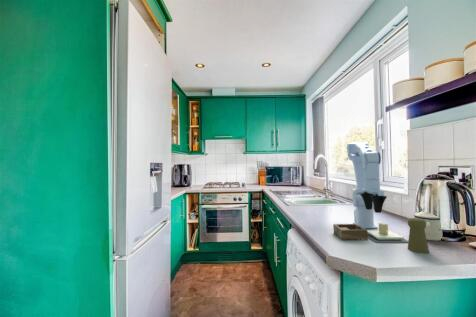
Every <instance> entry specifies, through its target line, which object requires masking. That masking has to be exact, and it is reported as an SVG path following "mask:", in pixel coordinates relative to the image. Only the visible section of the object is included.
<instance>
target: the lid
mask: <svg viewBox="0 0 476 317" xmlns="http://www.w3.org/2000/svg"><path fill="white" fill-rule="evenodd" d="M388 227H389V225H388V223H385V222H378V229H377V230H375V229H373V230H372V229H371V230H370V229H369V230H368V229H366V230H367V233H368V234H370V235H371V236H373V237H375V238H376V239H378V240H399V239H405V237H404V236H402V235H400V234H397V233H396V232H394V231H391V230H390V229H389V228H388Z"/></svg>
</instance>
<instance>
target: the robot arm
mask: <svg viewBox="0 0 476 317" xmlns="http://www.w3.org/2000/svg"><path fill="white" fill-rule="evenodd" d="M346 152H347V158H348V160H349V161H352V164H353V170H354V176H355V181H356V186H357V189H354V191H353V192H352V205H353V206H354V208H355V209H354V211H353V215H354V216H353V217H354V218H353V219H354V220H353V221H354V222H352V224H357V225H359V226H361V227H363V228H364V229H379V226H376V225H375V224H374V222H375V221H374V220H375V219H374V212H375V213H382V210H383V206H384V203H385V201H386V199H387V195H385V190H382V189H381V185H380V184H381V182H380V181H381V178H380V165H381V161H382V160H381V159H382V156H381V152H380V151H379V150H376V151H374V150H373V149H372V148H371V147H370V144H369V143H368V142H367V141H365V142H348V143H347V145H346Z"/></svg>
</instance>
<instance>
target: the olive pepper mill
mask: <svg viewBox="0 0 476 317" xmlns="http://www.w3.org/2000/svg"><path fill="white" fill-rule="evenodd" d="M407 224H408V227H409V232H408V233H409V235H408V243H407V249H408V250H409V251H411V252H412V253H413V252H415V253H419V254H428V253H429V252H430V250H429V245H428V240H427V239H426V234H425V228H426V222H425V221H424V220H423V219H419V218H415V217H411V218H409V219H408V220H407Z"/></svg>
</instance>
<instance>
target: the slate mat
mask: <svg viewBox="0 0 476 317" xmlns="http://www.w3.org/2000/svg"><path fill="white" fill-rule="evenodd" d="M367 235H368V240H371V241H372V242H374V243H376V244H405V243H406V244H408V241H409V239H406V238H404V239H399V240H378V239H376V238H375V237H373V236H371V235H370V234H368V233H367Z"/></svg>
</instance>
